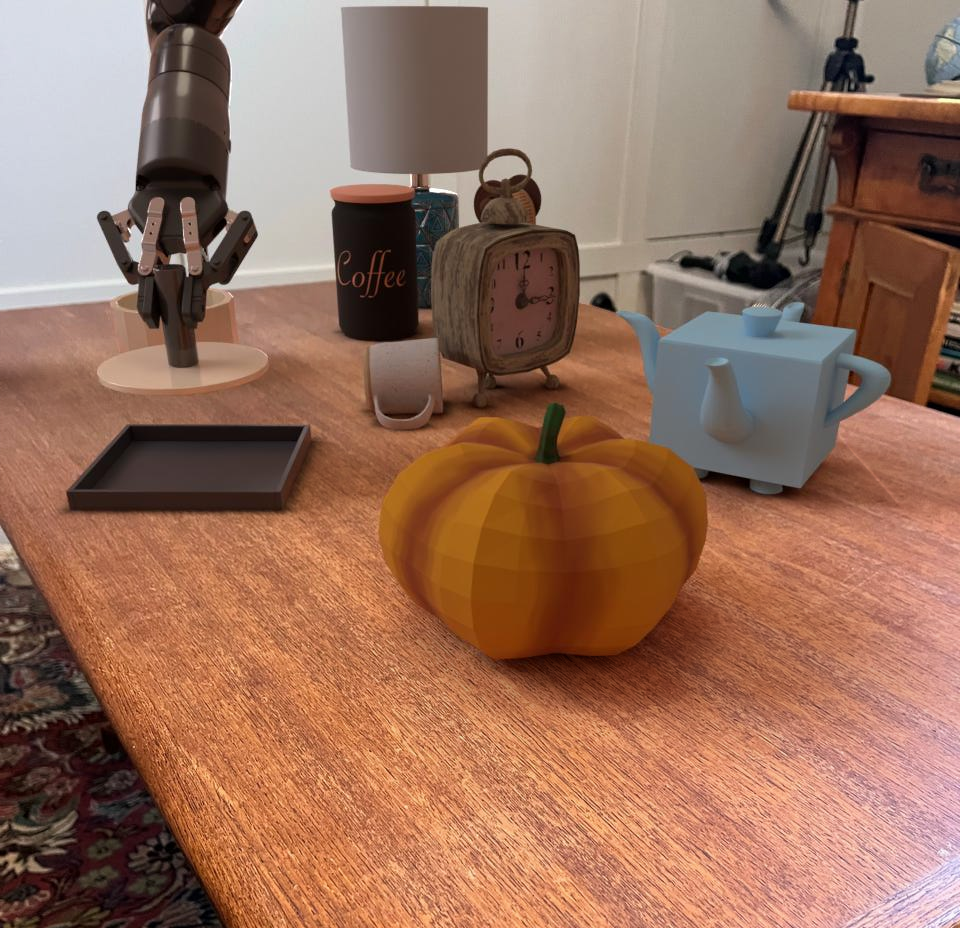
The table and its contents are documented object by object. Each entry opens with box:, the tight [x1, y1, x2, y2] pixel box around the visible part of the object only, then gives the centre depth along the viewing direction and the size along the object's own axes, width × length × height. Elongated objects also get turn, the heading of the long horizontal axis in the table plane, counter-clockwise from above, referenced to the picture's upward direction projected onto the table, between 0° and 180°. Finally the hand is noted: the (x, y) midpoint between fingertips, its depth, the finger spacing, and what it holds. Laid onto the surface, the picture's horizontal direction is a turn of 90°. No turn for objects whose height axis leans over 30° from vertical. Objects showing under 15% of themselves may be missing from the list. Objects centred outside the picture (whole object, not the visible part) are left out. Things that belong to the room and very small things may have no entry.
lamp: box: [340, 5, 489, 309], centre depth 142 cm, size 19×19×38 cm
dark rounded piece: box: [473, 173, 542, 225], centre depth 127 cm, size 15×15×20 cm
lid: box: [96, 263, 270, 397], centre depth 86 cm, size 14×14×9 cm
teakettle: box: [615, 301, 892, 495], centre depth 91 cm, size 19×19×15 cm
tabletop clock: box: [431, 147, 581, 409], centre depth 108 cm, size 14×9×25 cm, turn 129°
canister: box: [109, 287, 240, 355], centre depth 119 cm, size 14×14×8 cm
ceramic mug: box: [362, 337, 444, 431], centre depth 105 cm, size 11×8×8 cm
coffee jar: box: [329, 183, 420, 342], centre depth 132 cm, size 11×11×18 cm
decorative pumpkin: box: [377, 401, 709, 660], centre depth 67 cm, size 20×22×15 cm
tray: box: [65, 423, 312, 512], centre depth 93 cm, size 18×17×2 cm
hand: (170, 323), depth 84 cm, fingers closed on lid, 2 cm apart
